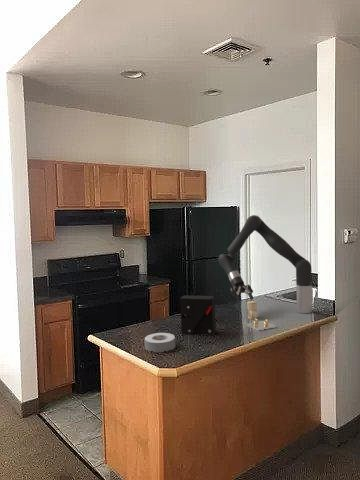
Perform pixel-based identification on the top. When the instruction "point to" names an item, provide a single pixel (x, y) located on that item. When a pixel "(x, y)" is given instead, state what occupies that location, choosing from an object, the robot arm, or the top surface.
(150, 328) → the top surface
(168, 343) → the tape roll
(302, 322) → the top surface
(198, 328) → the electrical component
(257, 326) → the plate
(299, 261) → the robot arm
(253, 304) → the block
